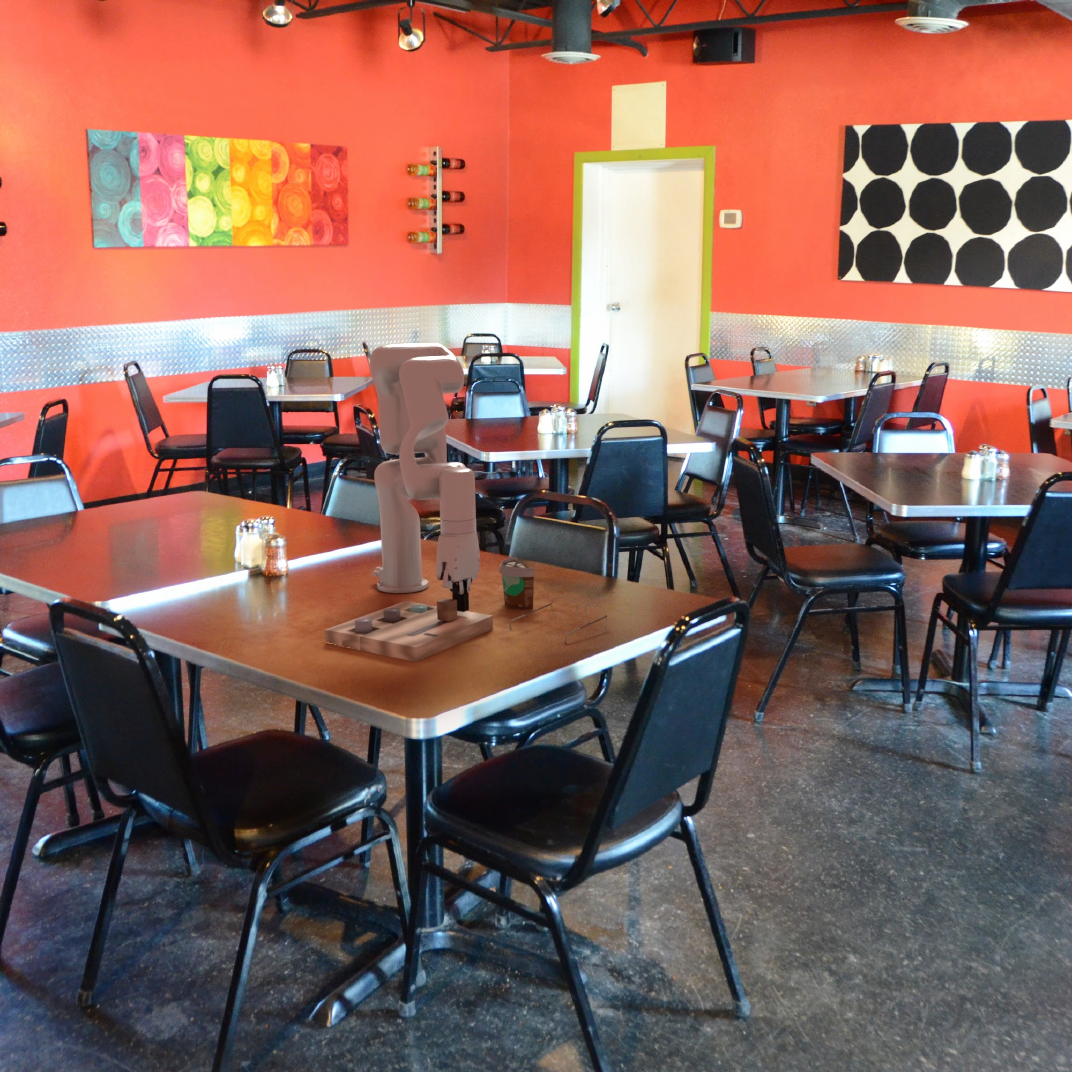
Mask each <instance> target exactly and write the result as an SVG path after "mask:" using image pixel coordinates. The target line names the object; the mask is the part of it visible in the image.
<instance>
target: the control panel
mask: <svg viewBox="0 0 1072 1072" xmlns="http://www.w3.org/2000/svg"><path fill="white" fill-rule="evenodd" d="M414 605H426V606H427V611H426V612H423V613H421V614H420V613H415V612H411V606H414ZM387 608H399V609H400V616H401V621H399V622H397V623H394V624H392V623H387V622H384V617H383V610H384V609H387ZM493 617H494V615H492V614H491V615H490V614H485V613H480V612H475V611H473V612H472V611H469V610H468V611H465V612H460V611H457V619H454V620H452V621H449V622H448V621H442V620H437V605H432V604H427V603H426V604H425V603H422V602H421V603H420V602H414V601H409V600H405V601H402V602H399V603H395V604H393V605H391V606H388V607H385V608H381V609H380V610H377V611H374V612H370V613H368V614H365V615H362V616H360V617H357V618H354V619H350V620H348V621H345V622H343V623H340V624H337V625H335V626H332V627H328V628H325V643H326V642H329V643H333V644H336V645H340V646H339V647H341V646H344V647H343V648H346V647H350V648H349V649H351V648H353V649H352V650H355V649H357V650H356V651H360V650H362V651H361V652H365V651H366V652H367V653H370V652H371V653H370V654H377V655H381V656H386V657H391V658H395V659H400V660H406V661H411V662H415V663H417V662H419V661H422V660H423V659H426V658H429V657H431V656H433V655H435V654H438V653H440V652H443V651H445V650H447V649H450V648H452V647H456V645H460V644H461V643H464V642H466V641H468V640H471V639H474V638H475V637H477V636H480V635H483V634H485V633H487V632H489V631H492V630H493V629H494V618H493ZM359 618H370V619H372V628H373V632H370V633H367V634H360V633H355V620H356V619H359ZM336 645H335V646H336ZM366 652H365V653H366Z"/></svg>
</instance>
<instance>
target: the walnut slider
mask: <svg viewBox="0 0 1072 1072" xmlns="http://www.w3.org/2000/svg"><path fill="white" fill-rule="evenodd" d="M436 606H437V620H442V621H448V622H449V621H452V620H454V619H457V600H454V599H452V598H447V597H444V598H442V599H440V600H437V601H436Z"/></svg>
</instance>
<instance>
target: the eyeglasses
mask: <svg viewBox="0 0 1072 1072" xmlns="http://www.w3.org/2000/svg"><path fill="white" fill-rule="evenodd" d="M557 599H565V600H569V601H571V602H573V603H574V604H575V605H576V615H575V616H574V617H572V618H571V620H574V619H577V617H578V614H579V613H578V612H579V607H580V608H584V613H585V617H586V619H587V621H588V622H589V623H588V624H586V625H583V626H581V627H579V628H576V629H574V630H572V631H570V632H568V633H567V634H565V637H564V643H565V644H567V643H568V639H567V638H568V636H569V635H571V634H573V633H576V632H578V631H580V630H582V629H584V628H586V627H588V626H590V625H593V624H595V623H597V622H599V621H601V620H603V619H606V620H605V621H606V622H605V626H604V628H606V627H607V626H608V615H607V612H606V610H605V609H604V607H602V606H601V605H598V604H594V603H589V602H585V601H581V600H576V599H571V598H567V597H563V596H559V597H558V596H557V597H555V598H553V599H552V600H551V603H549V604H546V605H544V606H542V607H539V608H537V609H533V610H532V611H530V612H528V613H525V614H522V615H520V616H518V617H517V616H516V617H515V618H512V619H511V621H510V623H509V625H508V627H509V630H512V629H513V628H512V623H513V622H515V621H517V620H519V619H522V618H524V617H526V616H528V615H531V614H533V613H535V612H537V611H539V610H542V609H544V608H547V607H549V606H550V609H551V613H552V615H554V616H555V617H557V615H556V614H555V612H554V611H553V604H554V603H553V602H554V601H555V600H557ZM577 602H580V603H585V604H586V605H585V606H581V605H578V604H577ZM587 606H597V607H599V608H601V609H602V610H603V612H604V614H605V616H603V617H600V618H598V619H596V620H594V621H592V622H591V621H590V620H589V618H588V614H587V610H586V609H587Z"/></svg>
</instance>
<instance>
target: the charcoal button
mask: <svg viewBox="0 0 1072 1072" xmlns="http://www.w3.org/2000/svg"><path fill="white" fill-rule="evenodd" d="M386 608H387V607H386ZM383 609H384V610H383V617H384V622H387V623H392V624H394V623H397V622H399V621H401V616H400V609H399V608H387V609H385V608H383Z"/></svg>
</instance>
